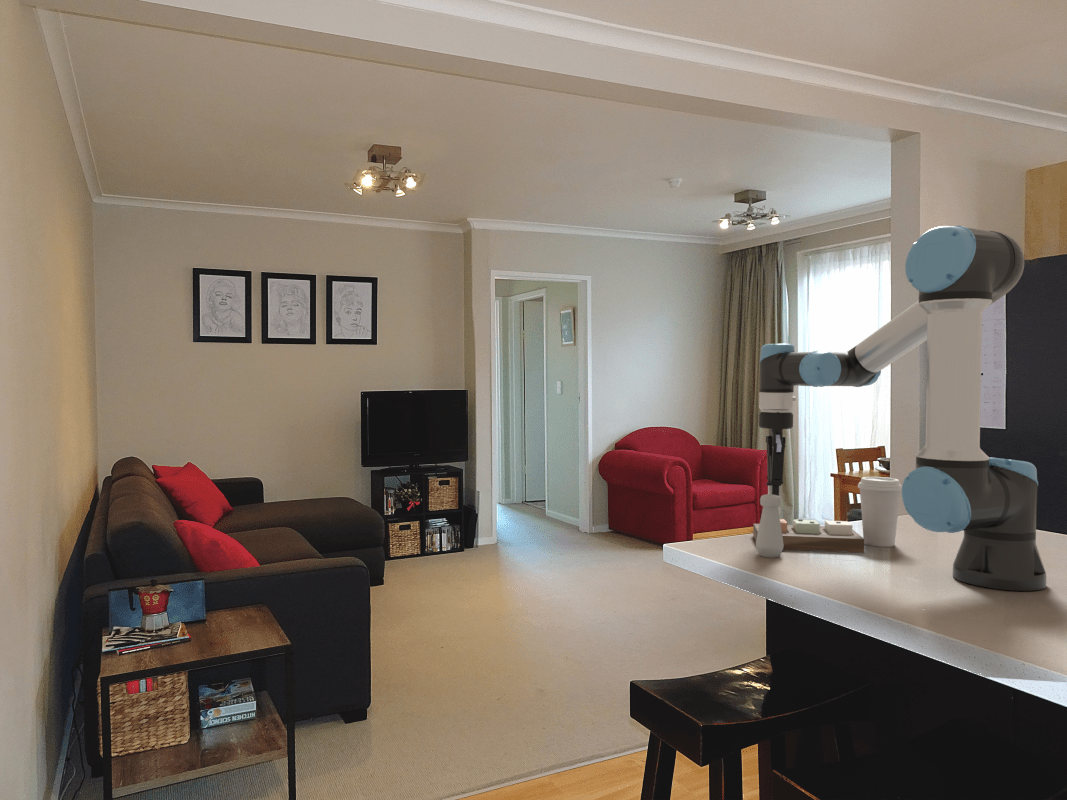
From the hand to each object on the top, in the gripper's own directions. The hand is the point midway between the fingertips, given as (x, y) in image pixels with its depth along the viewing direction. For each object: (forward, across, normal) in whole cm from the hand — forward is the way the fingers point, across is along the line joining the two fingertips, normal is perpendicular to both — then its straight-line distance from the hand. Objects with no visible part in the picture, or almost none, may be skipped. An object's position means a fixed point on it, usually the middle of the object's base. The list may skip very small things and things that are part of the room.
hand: (774, 513), depth 181 cm
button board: (+7, 0, -7) cm, 10 cm away
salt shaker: (+7, -14, +3) cm, 16 cm away
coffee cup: (+7, +3, -24) cm, 25 cm away
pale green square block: (+4, 0, -7) cm, 8 cm away
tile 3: (+4, 0, 0) cm, 4 cm away
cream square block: (+4, 0, -14) cm, 15 cm away
